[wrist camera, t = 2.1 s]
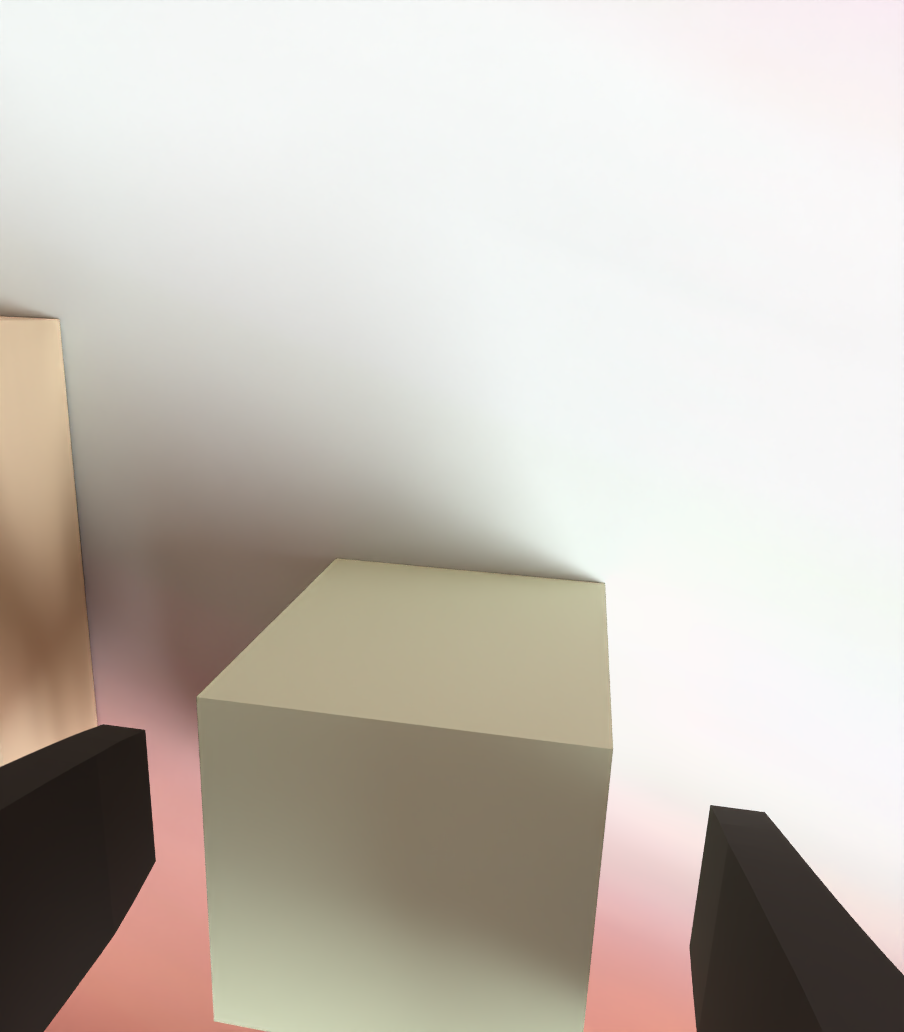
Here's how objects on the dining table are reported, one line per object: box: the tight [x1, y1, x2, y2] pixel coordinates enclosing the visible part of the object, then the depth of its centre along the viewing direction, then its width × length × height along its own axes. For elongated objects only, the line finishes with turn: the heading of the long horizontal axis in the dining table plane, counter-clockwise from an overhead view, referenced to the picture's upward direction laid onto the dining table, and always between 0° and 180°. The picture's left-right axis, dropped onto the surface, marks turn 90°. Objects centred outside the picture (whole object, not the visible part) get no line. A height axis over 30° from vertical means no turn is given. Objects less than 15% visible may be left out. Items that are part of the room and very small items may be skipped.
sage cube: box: [196, 558, 613, 1032], centre depth 11 cm, size 4×4×5 cm
